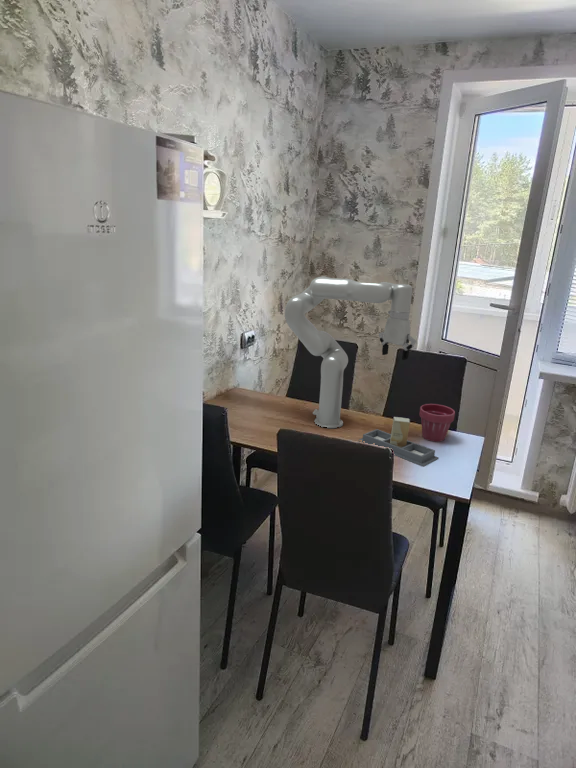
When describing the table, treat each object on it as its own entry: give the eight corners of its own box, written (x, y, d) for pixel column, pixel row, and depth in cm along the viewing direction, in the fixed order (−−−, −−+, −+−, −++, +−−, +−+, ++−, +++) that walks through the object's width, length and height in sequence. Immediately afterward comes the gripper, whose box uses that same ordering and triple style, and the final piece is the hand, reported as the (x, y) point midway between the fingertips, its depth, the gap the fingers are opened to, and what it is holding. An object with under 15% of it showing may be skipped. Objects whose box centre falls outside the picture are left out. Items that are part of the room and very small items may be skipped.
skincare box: (389, 449, 203) (393, 420, 200) (389, 445, 207) (392, 416, 204) (406, 451, 202) (410, 421, 199) (405, 446, 206) (409, 418, 203)
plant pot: (445, 447, 210) (450, 417, 207) (411, 438, 217) (415, 409, 213) (454, 436, 222) (458, 408, 218) (422, 428, 229) (426, 401, 225)
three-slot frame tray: (358, 440, 211) (359, 433, 210) (374, 434, 219) (375, 427, 218) (423, 466, 191) (424, 458, 190) (438, 458, 199) (439, 451, 198)
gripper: (376, 312, 211) (372, 353, 216) (413, 319, 199) (407, 362, 204) (387, 311, 216) (382, 351, 221) (423, 318, 204) (417, 360, 209)
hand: (394, 357), depth 212 cm, fingers open, 9 cm apart
